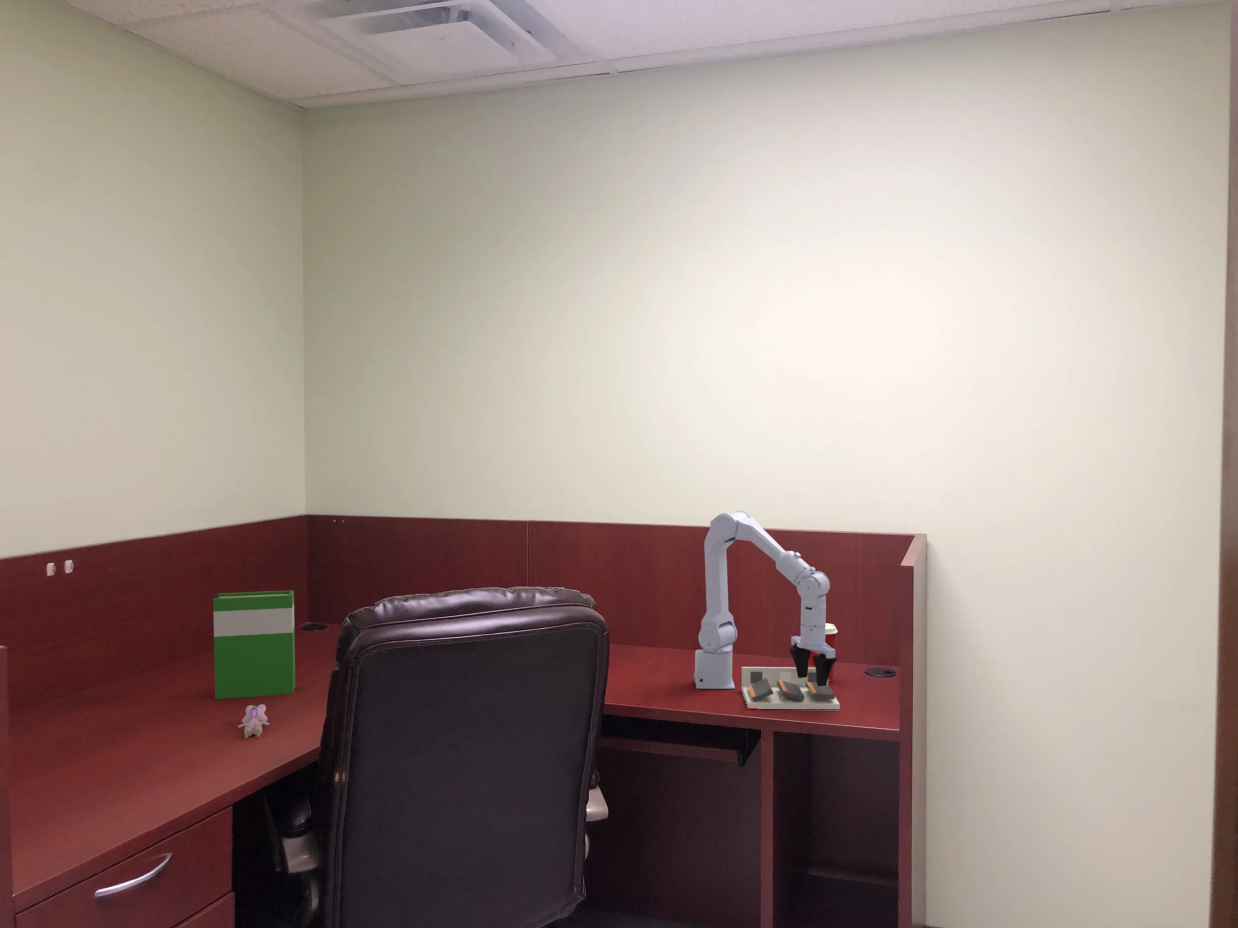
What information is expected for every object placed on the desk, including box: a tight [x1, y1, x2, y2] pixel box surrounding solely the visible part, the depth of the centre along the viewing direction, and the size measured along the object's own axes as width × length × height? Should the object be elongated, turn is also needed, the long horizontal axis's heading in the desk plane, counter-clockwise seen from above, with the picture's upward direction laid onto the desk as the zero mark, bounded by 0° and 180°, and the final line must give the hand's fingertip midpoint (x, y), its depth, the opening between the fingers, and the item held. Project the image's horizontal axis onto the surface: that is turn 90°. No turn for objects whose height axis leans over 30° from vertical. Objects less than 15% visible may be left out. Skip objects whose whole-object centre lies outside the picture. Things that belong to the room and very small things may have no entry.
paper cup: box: [809, 623, 838, 681], centre depth 247 cm, size 8×8×14 cm
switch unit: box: [741, 666, 841, 710], centre depth 229 cm, size 21×15×6 cm
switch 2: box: [776, 680, 804, 701], centre depth 228 cm, size 5×10×1 cm, turn 179°
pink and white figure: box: [237, 703, 270, 739], centre depth 208 cm, size 6×6×15 cm
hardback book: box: [212, 589, 296, 700], centre depth 235 cm, size 18×7×24 cm, turn 105°
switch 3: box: [806, 682, 836, 699], centre depth 228 cm, size 5×10×1 cm, turn 179°
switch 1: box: [748, 678, 774, 702], centre depth 228 cm, size 5×10×1 cm, turn 178°
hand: (811, 681), depth 228 cm, fingers open, 7 cm apart
